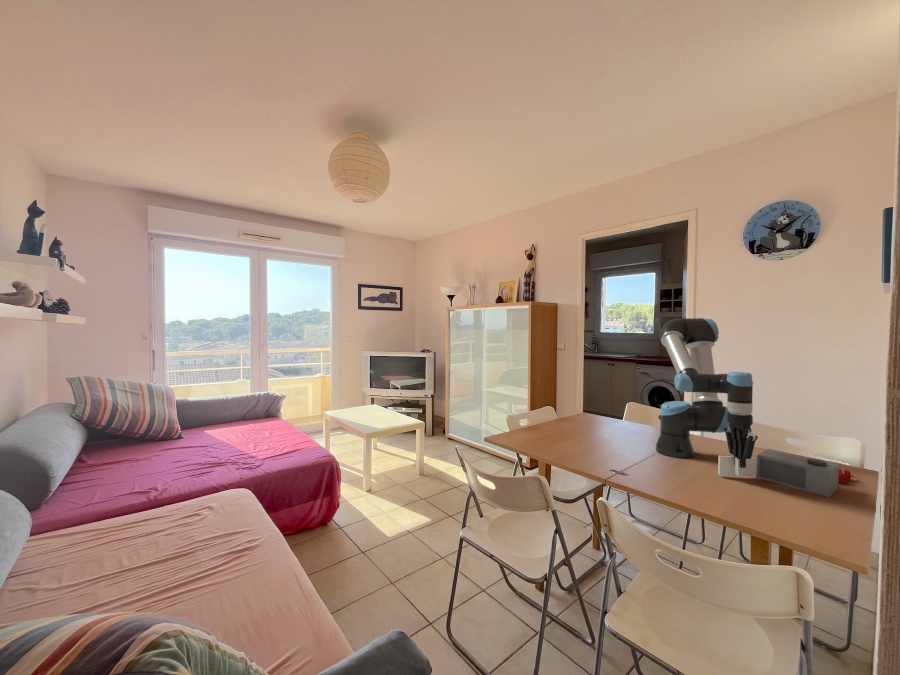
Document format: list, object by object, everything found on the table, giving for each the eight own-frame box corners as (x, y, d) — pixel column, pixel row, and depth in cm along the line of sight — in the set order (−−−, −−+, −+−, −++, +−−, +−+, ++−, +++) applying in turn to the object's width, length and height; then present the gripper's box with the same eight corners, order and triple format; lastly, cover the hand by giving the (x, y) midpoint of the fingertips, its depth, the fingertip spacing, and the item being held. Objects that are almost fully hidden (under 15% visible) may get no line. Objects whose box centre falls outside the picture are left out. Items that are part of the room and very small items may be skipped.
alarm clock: (808, 460, 153) (859, 463, 140) (812, 475, 152) (864, 480, 139) (797, 464, 148) (850, 469, 135) (801, 481, 147) (855, 487, 134)
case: (756, 477, 144) (757, 452, 144) (767, 470, 151) (768, 446, 151) (829, 497, 128) (830, 468, 127) (838, 488, 134) (838, 461, 134)
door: (755, 475, 145) (755, 454, 145) (759, 478, 143) (759, 456, 143) (716, 474, 147) (716, 453, 147) (719, 476, 145) (719, 454, 145)
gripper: (764, 416, 135) (764, 481, 135) (735, 409, 148) (735, 468, 148) (745, 417, 134) (745, 482, 135) (717, 409, 147) (717, 469, 147)
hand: (740, 475), depth 141 cm, fingers closed
